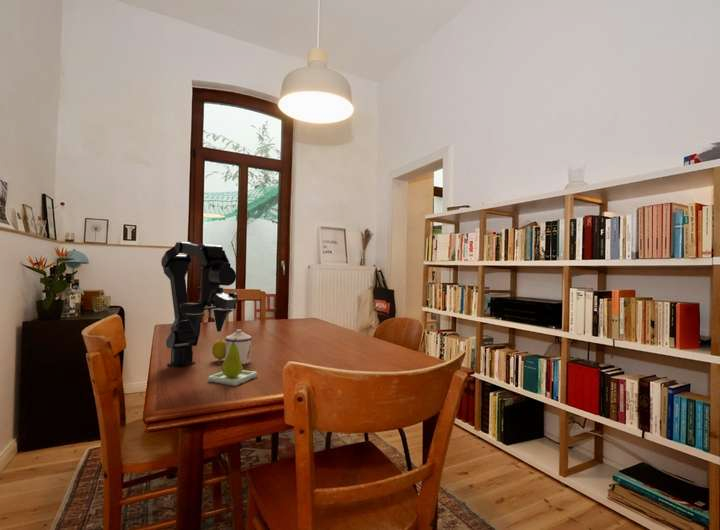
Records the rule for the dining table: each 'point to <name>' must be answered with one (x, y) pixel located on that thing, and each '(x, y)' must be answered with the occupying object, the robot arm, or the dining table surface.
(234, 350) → the fruit
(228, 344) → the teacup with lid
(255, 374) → the tray
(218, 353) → the lemon
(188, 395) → the dining table surface
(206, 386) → the dining table surface
